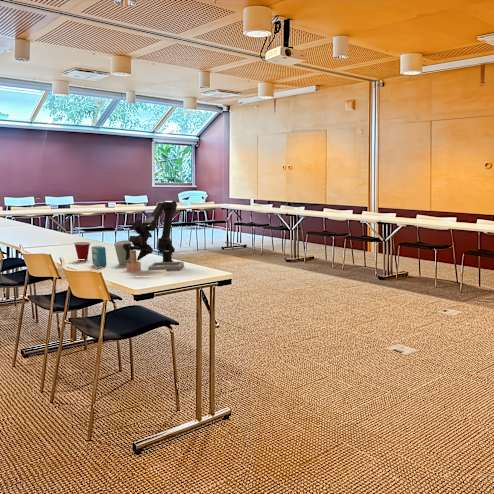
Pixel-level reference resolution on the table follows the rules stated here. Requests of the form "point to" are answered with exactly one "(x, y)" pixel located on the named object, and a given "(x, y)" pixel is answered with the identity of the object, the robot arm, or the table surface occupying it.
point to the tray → (166, 266)
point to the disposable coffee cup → (121, 252)
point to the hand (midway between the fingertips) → (131, 260)
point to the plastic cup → (82, 249)
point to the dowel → (133, 257)
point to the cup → (133, 266)
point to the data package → (99, 255)
